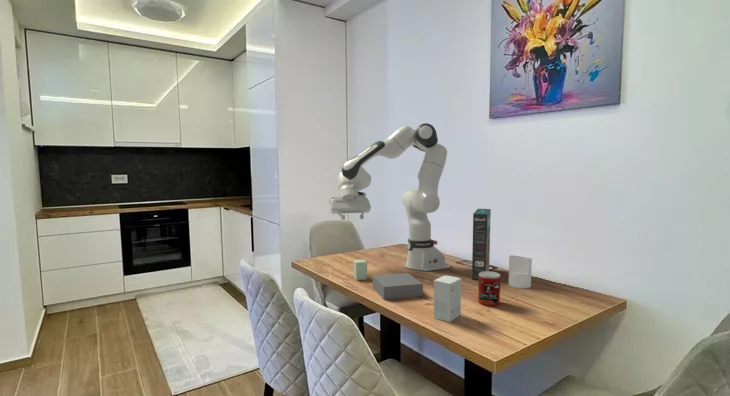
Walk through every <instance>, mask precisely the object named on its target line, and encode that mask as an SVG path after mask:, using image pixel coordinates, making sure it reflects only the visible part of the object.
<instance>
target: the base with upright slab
mask: <svg viewBox="0 0 730 396" xmlns="http://www.w3.org/2000/svg"><path fill="white" fill-rule="evenodd" d="M532 260H533V258H530V257H525V256H519V255H514V254H512V255H509V257H508V279H507V280H508V284H507V285H509V286H511V287H513V288H517V289H518V288H519V289H528V288H531V286H532V267H533V266H532V263H533V262H532Z"/></svg>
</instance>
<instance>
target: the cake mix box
mask: <svg viewBox="0 0 730 396" xmlns="http://www.w3.org/2000/svg"><path fill="white" fill-rule="evenodd" d="M491 211H492V210H491V208H477V209H476V210H475V211H474V212H473V215H472V253H471V255H472V256H471V257H472V258H471V259H472V260H471V261H472V262H471V264H472V265H471V270H472V271H471V280H472V281H479V273H480V272H483V271H490V256H491V255H490V249H491V248H490V247H491V245H490V244H491V217H492V216H491V215H492V214H491Z"/></svg>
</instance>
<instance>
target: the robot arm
mask: <svg viewBox="0 0 730 396" xmlns="http://www.w3.org/2000/svg"><path fill="white" fill-rule="evenodd" d="M438 142H439V139H438V133H437V131H436V128H435V127H434V126H433V124H430V123H427V122H426V123H421V124H419V125H418V126H417V127H416V128H415V129H414V128H413V127H411V126H409V125H406V124H405V125H403V126H401V127H399V128H398V129H396V130H395V131H394V132H392V133H391V134H390V135H389V136H388V137H387V138H385V139H383V140H377V141H376V142H374V143H371V144H370V145H369V146H368V147H366V148H365V149H363V150H362V151H360V152H359V153H358V154H356V155H354V156H353V157H352V158H350V159H348V160H346V161H345V162H344V163H343V165H342V168H341V172H339V174H338V175H337V179H336V180H337V182H336V183H337V189H338V191H339V192H338V194H339V196H338V197H334V196H333V197H331V198H328V199H329V200H328V202H329V204H330V213H331V214H333V215H334V214H337V215H338V216H339V217H340V218H341V219H340V220H342V221H345V219H346V215H344V214H359V215H360V216H359V218H360V220H364V218H365V216H364V215H365V213H366V214H369V213H370V212H371V208H372V205H371V203H370V200H369V198H368V197H367V194H366V192H363V191H362V190H364V189H366V188H368V187H369V186H370V184H371V183H372V176H371V175H370V174H369V172H368V171H367V170H366V169H365V168H364V167H363V165H365V164H366V163H368V162H369V161H370V160H372V159H373V158H375V157H377V156H381V157H384V158H387V159H391V160H393V159H394V160H395V159H397V158H399V157H400V156H401V155H402V154H403V153H404V152H405V151H406V150H407V149H408V148H409V147H411V146H412V147H414V148H415V149H418V150H419V151H420V152H424V153H425V154H424V156H423V157H424V158H423V160H422V163H421V165H420V168H419V170H418V174H417V178H418V187H417V189H410V190H407V191H405V192H404V193H403V195H402V199H401V203H402V204H403V206H404V208H405V211H406V216H407V221H408V238H407V250H408V251H407V257H406V263H405V267H406V268H408V269H410V270H415V271H416V270H418V271H423V272H431V271H436V270H437V271H438V270H444V269H450V268H451V265H450V263H448V262H447V261H446V255H445V254H444V253H443V252H442V251H441V250H439V248H437V247H435V245H436V246H437V245H438V243H439V242H438V240H435V239H434V240H433V239H432V236H431V235H432V224H431V222H430V220H429V218H428V215H427V214H430V213H436V212H437V210H439V207H440V206H441V203H440V202H441V199H440V197H439V184H440V180H441V176H442V174H443V172H444V168H445V165H446V161H447V157H448V150H447V147H446V146H444V145H443V144H439V143H438Z"/></svg>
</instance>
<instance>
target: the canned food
mask: <svg viewBox="0 0 730 396" xmlns="http://www.w3.org/2000/svg"><path fill="white" fill-rule="evenodd" d="M477 288H478V291H477V292H478V293H477V294H478V295H477V297H478V299H477V300H478V303H479V304H480V305H482V306H484V307H497V306H499V305H500V302H501V301H500V299H501V298H500V297H501V273H498V272H496V271H490V270H489V271H483V272H480V273H479V280H478V287H477Z"/></svg>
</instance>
